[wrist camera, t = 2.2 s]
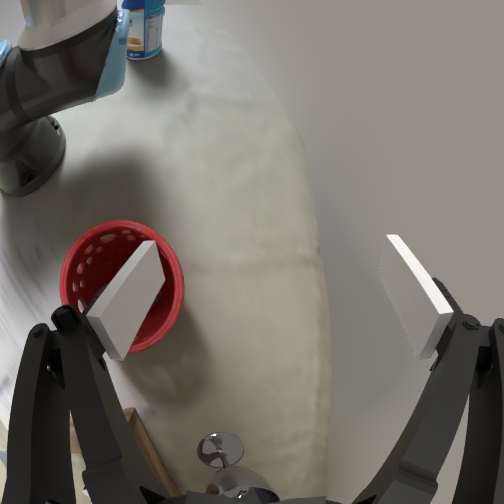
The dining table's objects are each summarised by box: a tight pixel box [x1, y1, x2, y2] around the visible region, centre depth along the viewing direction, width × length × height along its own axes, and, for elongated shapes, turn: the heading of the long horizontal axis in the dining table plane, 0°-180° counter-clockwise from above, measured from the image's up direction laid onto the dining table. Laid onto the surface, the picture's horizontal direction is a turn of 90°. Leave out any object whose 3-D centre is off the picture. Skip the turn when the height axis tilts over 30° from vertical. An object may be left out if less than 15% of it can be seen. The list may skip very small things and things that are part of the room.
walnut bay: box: [70, 408, 181, 497], centre depth 22 cm, size 13×26×10 cm, turn 17°
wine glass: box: [197, 433, 280, 504], centre depth 25 cm, size 8×8×15 cm
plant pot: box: [60, 220, 184, 354], centre depth 28 cm, size 13×13×12 cm
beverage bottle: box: [122, 0, 165, 60], centre depth 32 cm, size 8×8×20 cm
